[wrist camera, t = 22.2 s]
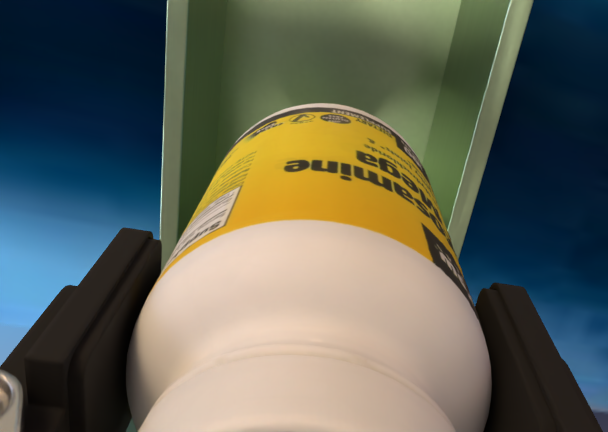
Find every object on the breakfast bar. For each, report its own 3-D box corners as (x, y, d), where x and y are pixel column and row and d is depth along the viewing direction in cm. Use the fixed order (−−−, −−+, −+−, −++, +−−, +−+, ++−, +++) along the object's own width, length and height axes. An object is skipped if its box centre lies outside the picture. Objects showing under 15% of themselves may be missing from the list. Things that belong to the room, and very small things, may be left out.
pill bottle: (474, 187, 17) (678, 564, 7) (335, 324, 19) (332, 756, 9) (303, 47, 15) (234, 257, 5) (175, 213, 17) (-44, 580, 7)
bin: (219, -78, 27) (168, -84, 19) (484, -38, 27) (542, -28, 19) (196, 276, 36) (154, 372, 28) (398, 306, 36) (414, 410, 28)
